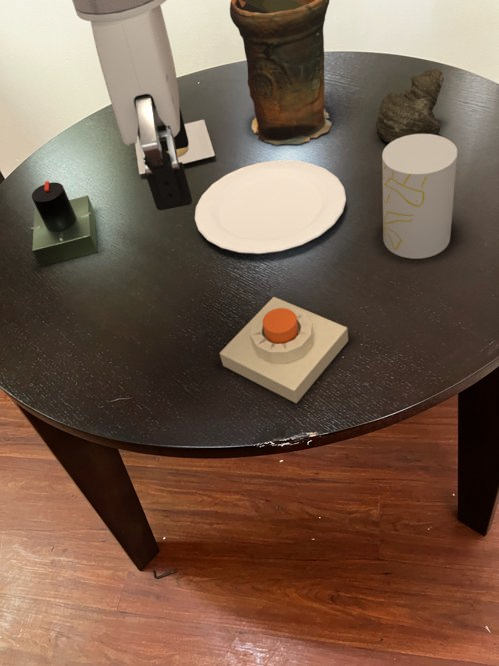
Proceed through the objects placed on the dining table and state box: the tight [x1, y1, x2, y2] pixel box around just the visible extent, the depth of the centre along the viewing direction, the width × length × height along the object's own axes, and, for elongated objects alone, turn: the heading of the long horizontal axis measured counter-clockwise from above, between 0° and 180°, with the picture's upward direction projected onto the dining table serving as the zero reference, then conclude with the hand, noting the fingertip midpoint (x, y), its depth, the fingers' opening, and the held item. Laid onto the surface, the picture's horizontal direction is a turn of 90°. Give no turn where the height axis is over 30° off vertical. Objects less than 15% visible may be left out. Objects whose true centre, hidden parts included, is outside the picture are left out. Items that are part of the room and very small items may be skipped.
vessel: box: [229, 0, 332, 146], centre depth 98 cm, size 14×14×20 cm
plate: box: [194, 159, 347, 255], centre depth 89 cm, size 21×21×2 cm
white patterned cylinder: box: [381, 134, 458, 260], centre depth 77 cm, size 8×8×12 cm
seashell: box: [375, 68, 445, 144], centre depth 94 cm, size 11×12×10 cm
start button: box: [263, 308, 298, 344], centre depth 68 cm, size 4×4×2 cm
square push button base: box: [219, 296, 349, 404], centre depth 70 cm, size 10×10×4 cm
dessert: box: [134, 119, 216, 175], centre depth 103 cm, size 12×12×5 cm
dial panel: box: [30, 195, 98, 268], centre depth 92 cm, size 10×9×3 cm
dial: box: [31, 180, 76, 231], centre depth 89 cm, size 4×4×5 cm
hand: (174, 175), depth 61 cm, fingers open, 9 cm apart
